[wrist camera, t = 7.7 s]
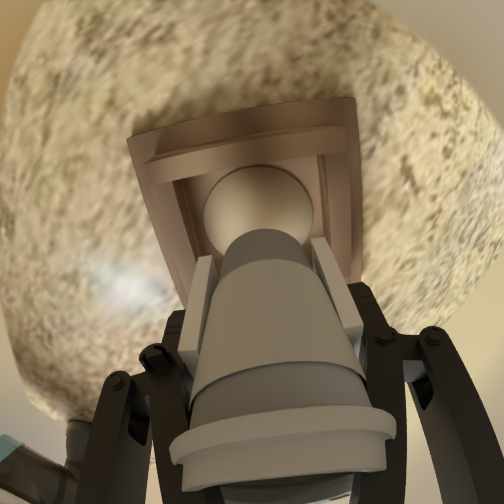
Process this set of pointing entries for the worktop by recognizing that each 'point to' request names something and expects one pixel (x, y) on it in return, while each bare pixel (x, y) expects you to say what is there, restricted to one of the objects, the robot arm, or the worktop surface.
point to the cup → (277, 386)
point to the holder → (254, 182)
